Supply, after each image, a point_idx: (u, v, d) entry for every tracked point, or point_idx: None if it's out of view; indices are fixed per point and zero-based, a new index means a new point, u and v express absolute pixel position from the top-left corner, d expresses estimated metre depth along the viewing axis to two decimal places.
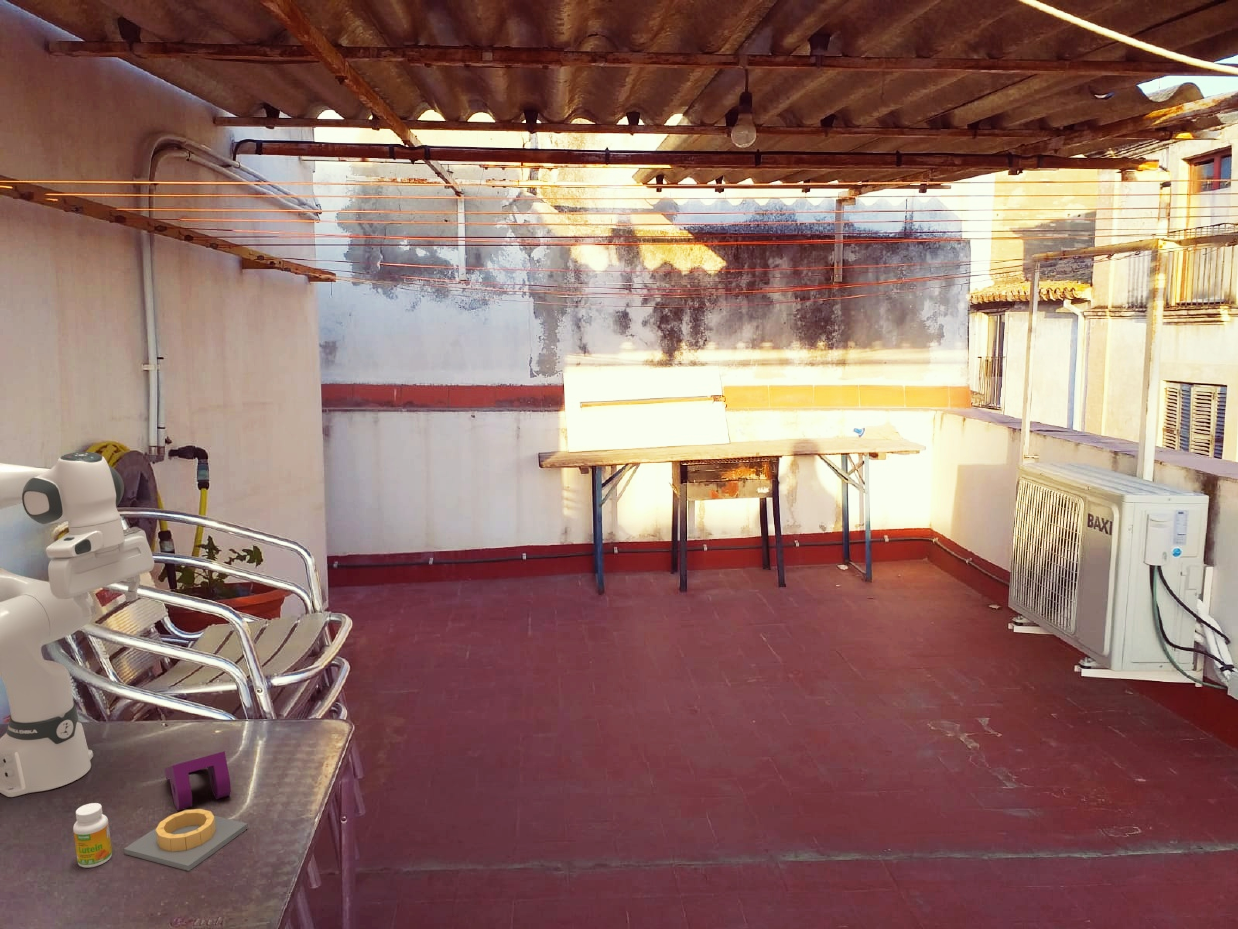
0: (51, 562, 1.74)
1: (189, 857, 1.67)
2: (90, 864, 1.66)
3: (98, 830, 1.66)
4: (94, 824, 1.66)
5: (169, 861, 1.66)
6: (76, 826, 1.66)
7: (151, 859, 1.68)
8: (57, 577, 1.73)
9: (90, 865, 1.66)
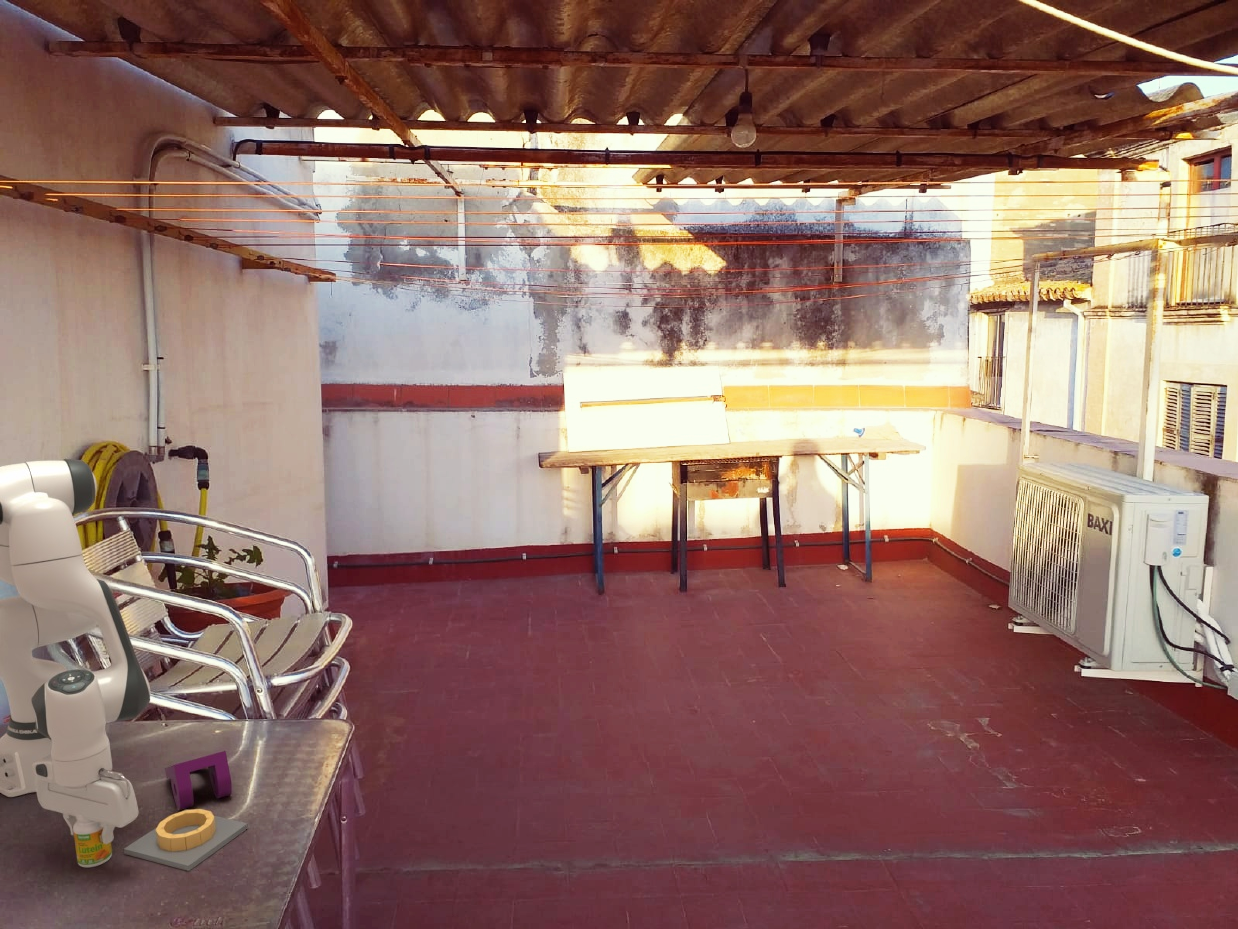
0: None
1: (189, 857, 1.67)
2: (90, 864, 1.66)
3: (98, 830, 1.66)
4: (94, 824, 1.66)
5: (169, 861, 1.66)
6: (76, 826, 1.66)
7: (151, 859, 1.68)
8: None
9: (90, 865, 1.66)
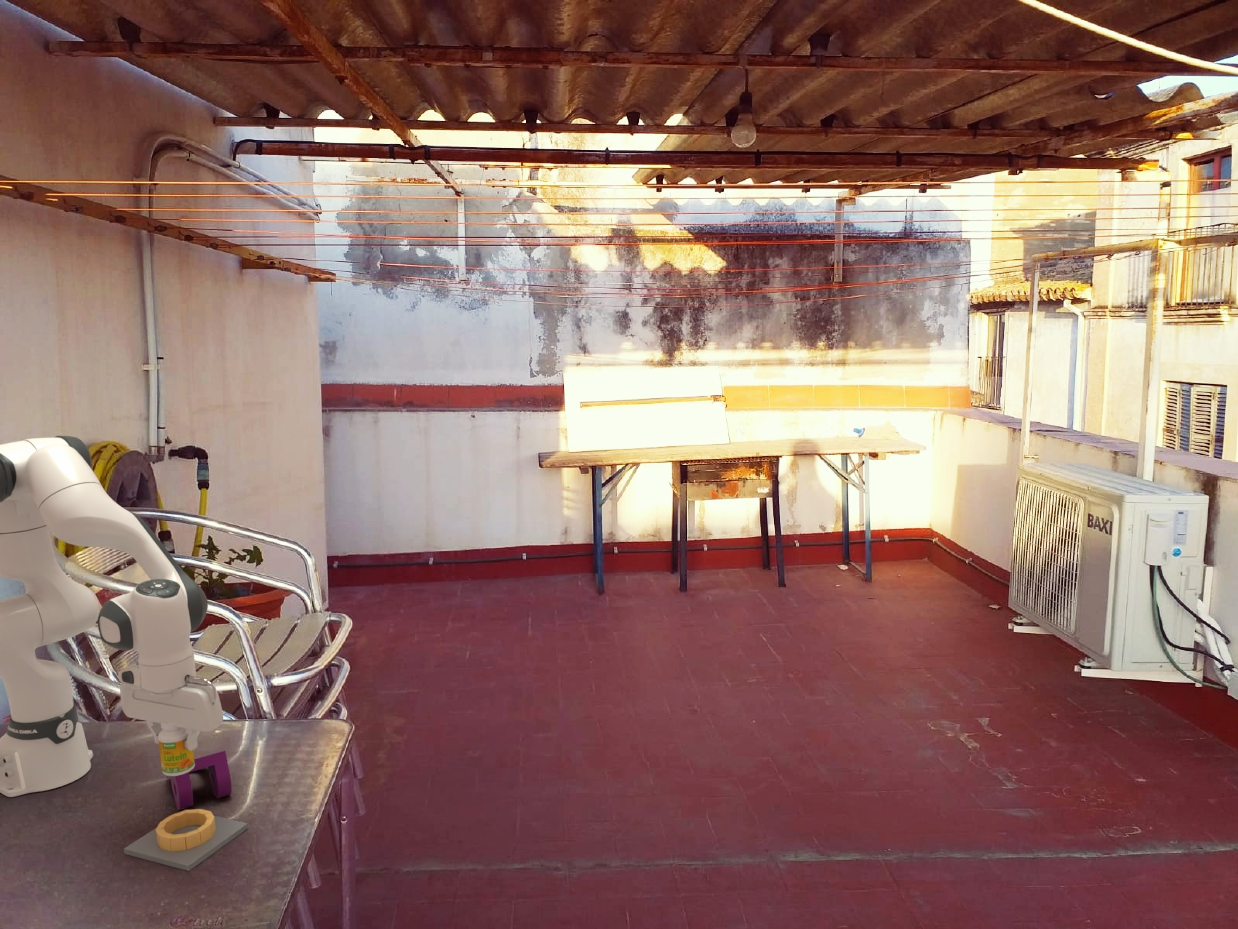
0: None
1: (189, 857, 1.67)
2: (175, 772, 1.68)
3: (183, 739, 1.68)
4: (179, 733, 1.68)
5: (169, 861, 1.66)
6: (161, 735, 1.68)
7: (151, 859, 1.68)
8: None
9: (175, 773, 1.69)
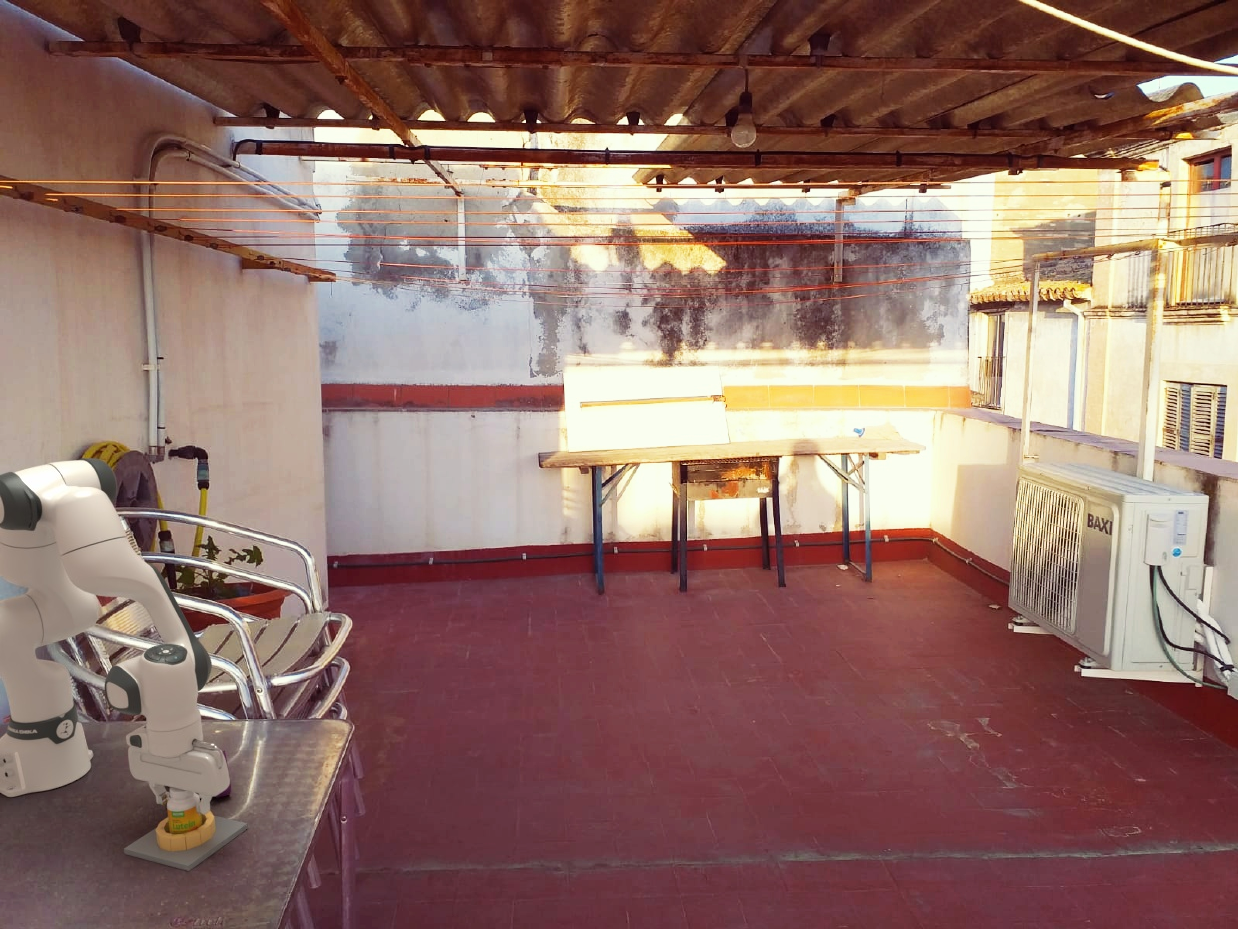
0: None
1: (189, 857, 1.67)
2: None
3: (191, 807, 1.71)
4: (188, 801, 1.71)
5: (169, 861, 1.66)
6: (170, 803, 1.70)
7: (151, 859, 1.68)
8: None
9: None
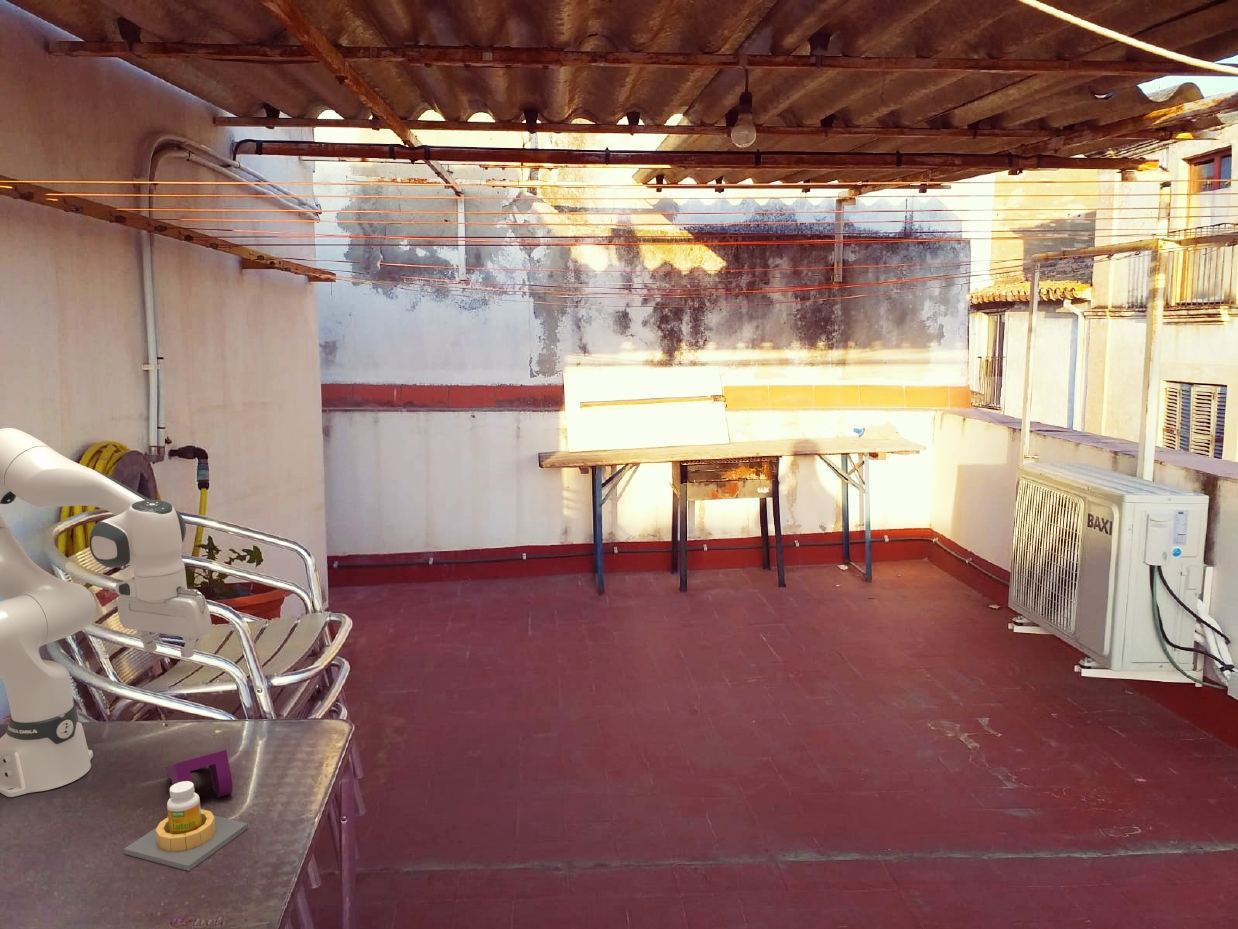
0: None
1: (189, 857, 1.67)
2: None
3: (191, 807, 1.71)
4: (188, 801, 1.71)
5: (169, 861, 1.66)
6: (170, 803, 1.70)
7: (151, 859, 1.68)
8: None
9: None
